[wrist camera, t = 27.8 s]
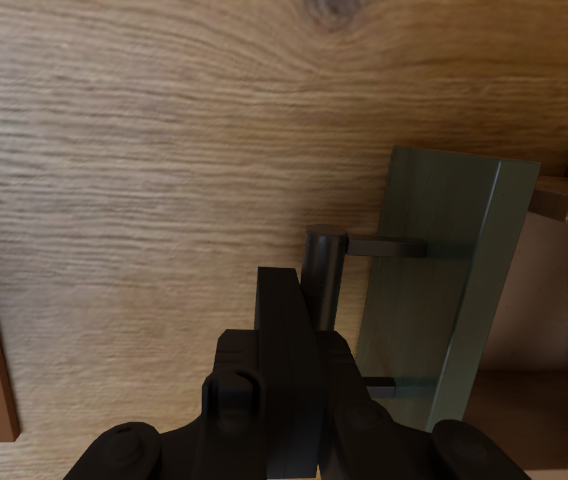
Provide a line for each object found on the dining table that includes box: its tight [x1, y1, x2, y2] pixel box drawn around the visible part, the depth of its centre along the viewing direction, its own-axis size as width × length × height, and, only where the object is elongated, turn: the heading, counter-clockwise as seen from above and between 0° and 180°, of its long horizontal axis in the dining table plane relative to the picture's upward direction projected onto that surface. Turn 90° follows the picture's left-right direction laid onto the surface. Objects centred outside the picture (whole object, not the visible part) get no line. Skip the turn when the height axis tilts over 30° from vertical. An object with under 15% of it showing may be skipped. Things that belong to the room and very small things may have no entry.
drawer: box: [300, 145, 568, 480], centre depth 14 cm, size 19×13×7 cm
